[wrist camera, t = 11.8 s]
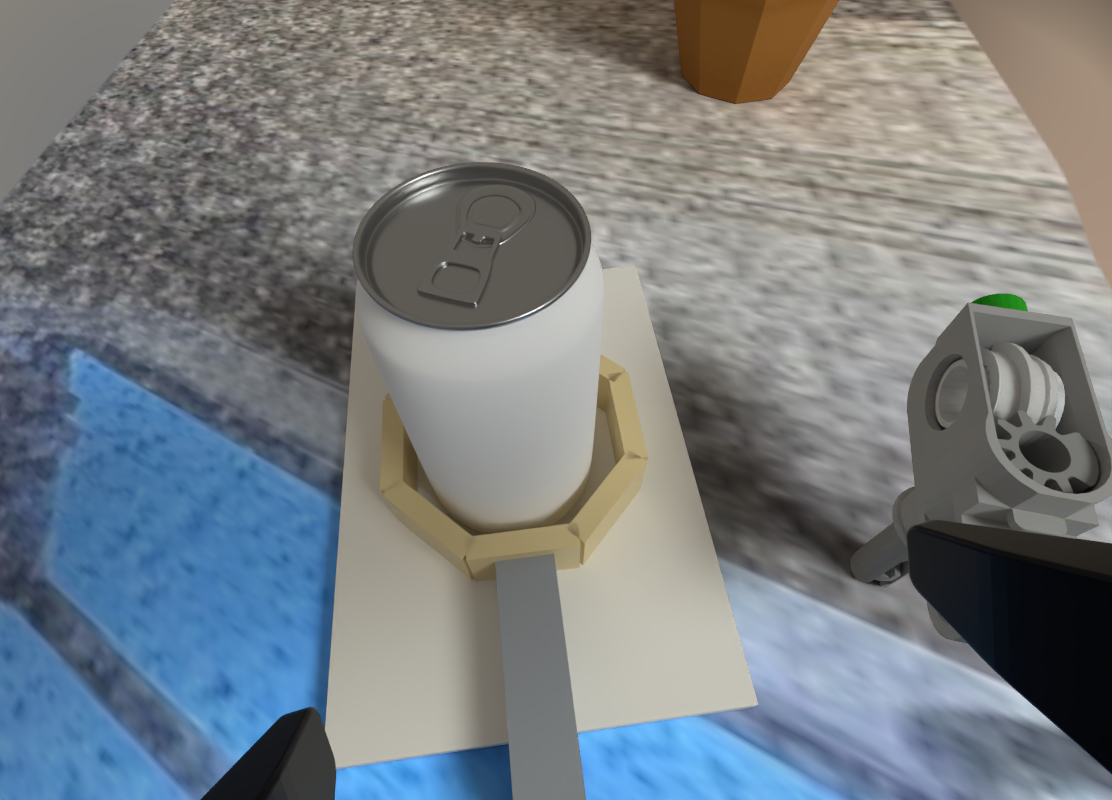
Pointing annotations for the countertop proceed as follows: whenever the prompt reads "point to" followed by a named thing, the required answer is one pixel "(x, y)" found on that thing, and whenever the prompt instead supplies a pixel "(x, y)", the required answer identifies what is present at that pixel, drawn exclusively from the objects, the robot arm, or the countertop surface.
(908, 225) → the countertop surface
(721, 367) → the countertop surface
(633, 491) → the octagonal ring fixture plate
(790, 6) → the potted plant
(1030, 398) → the mechanical component
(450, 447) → the can
